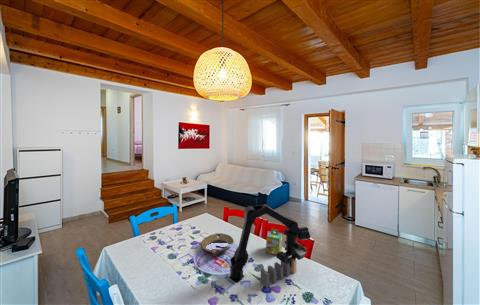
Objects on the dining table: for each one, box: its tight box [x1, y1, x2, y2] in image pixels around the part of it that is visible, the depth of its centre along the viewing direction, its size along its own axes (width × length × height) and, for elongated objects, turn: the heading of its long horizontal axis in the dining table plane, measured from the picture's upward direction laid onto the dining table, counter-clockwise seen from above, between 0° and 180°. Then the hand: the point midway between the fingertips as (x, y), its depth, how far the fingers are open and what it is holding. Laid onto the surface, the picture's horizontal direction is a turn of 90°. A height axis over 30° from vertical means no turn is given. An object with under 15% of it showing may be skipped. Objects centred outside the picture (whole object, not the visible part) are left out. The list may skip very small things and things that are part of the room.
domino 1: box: [260, 268, 270, 289], centre depth 108 cm, size 2×5×7 cm, turn 33°
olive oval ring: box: [200, 232, 235, 257], centre depth 142 cm, size 22×30×8 cm
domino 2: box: [267, 265, 278, 285], centre depth 111 cm, size 2×5×7 cm, turn 33°
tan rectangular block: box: [290, 259, 297, 274], centre depth 119 cm, size 2×5×7 cm, turn 33°
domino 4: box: [280, 260, 291, 278], centre depth 117 cm, size 2×5×7 cm, turn 34°
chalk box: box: [265, 228, 283, 256], centre depth 140 cm, size 9×9×15 cm
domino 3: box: [273, 261, 284, 281], centre depth 114 cm, size 2×5×7 cm, turn 33°
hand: (291, 266), depth 120 cm, fingers closed on tan rectangular block, 2 cm apart
